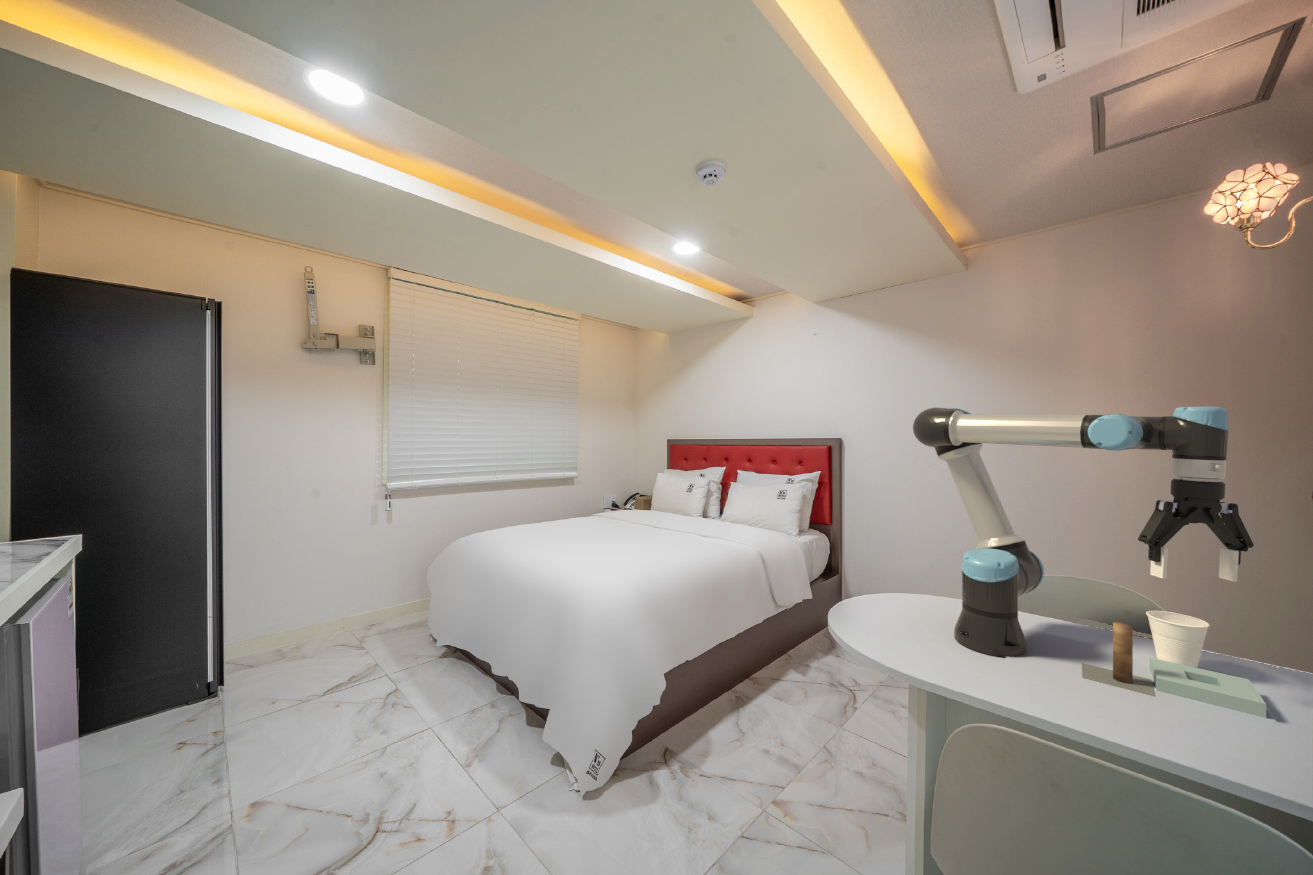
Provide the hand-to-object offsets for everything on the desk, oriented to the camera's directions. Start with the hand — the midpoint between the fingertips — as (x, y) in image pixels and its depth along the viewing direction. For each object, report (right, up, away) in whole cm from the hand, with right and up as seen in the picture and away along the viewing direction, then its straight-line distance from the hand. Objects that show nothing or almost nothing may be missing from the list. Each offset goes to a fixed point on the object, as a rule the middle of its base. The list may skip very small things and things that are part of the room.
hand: (1192, 578), depth 99 cm
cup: (+7, -23, +9) cm, 26 cm away
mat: (-14, -23, +2) cm, 27 cm away
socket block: (-1, -23, -3) cm, 23 cm away
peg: (-13, -23, +2) cm, 26 cm away
